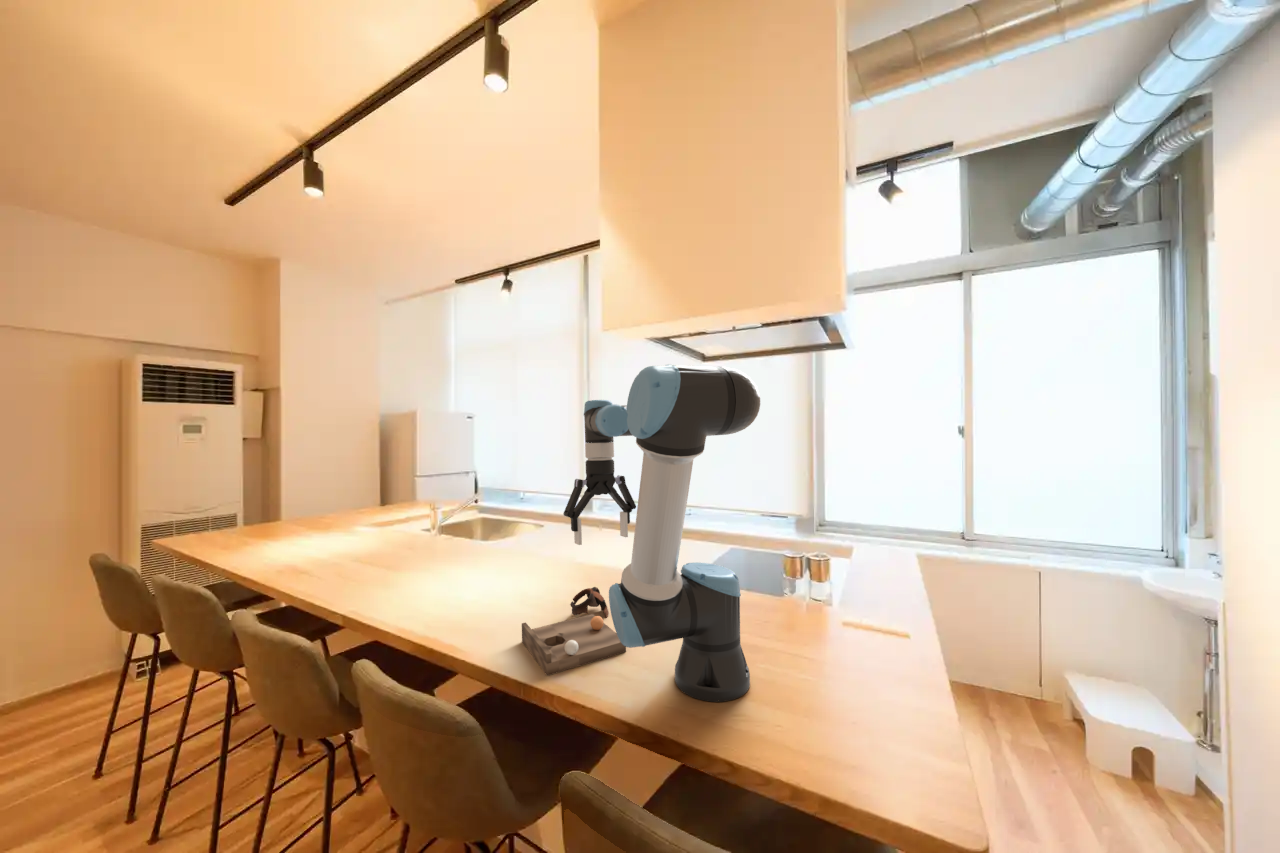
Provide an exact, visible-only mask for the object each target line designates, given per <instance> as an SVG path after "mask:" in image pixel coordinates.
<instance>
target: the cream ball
mask: <svg viewBox="0 0 1280 853" xmlns="http://www.w3.org/2000/svg"><path fill="white" fill-rule="evenodd" d="M577 651H578V643H577V642H576V641H575V640H569V641H568V642H567V643H566V644H565V652H566V653H567V654H569V655H574V654H575V653H576V652H577Z"/></svg>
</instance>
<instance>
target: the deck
mask: <svg viewBox="0 0 1280 853" xmlns="http://www.w3.org/2000/svg"><path fill="white" fill-rule="evenodd" d="M595 616H596V615H595V614H594V613H591V614H586V615H583V616H579V617H576V618H571V619H567V620H563V621H558V622H556V623H551V624H547V625H542V626H539V627H534V628H531V627H530V626H529V625H528V623H527V622H523V623H521V642H522V643H523V646H524V647H525V648H526V649H527V650H528V652H529V653H530V654H531V656H532V657H533V659H534V660H535V662H536V663H537V664H538V666H539V667H540V668H541V669H542V671H543V672H544V673H545V675H546V676H547V677H548V676H550V675H554V674H558V673H561V672H564V671H568V670H571V669H573V668H577V667H580V666H583V665H587V664H590V663H593V662H597V661H599V660H603V659H607V658H610V657H614V656H615V655H619V654H623V653H626V652H627V647H626V646H624V645H623V644H622V643H621V642H620V640H619V638H618V636H617V633H616V631H615V630H613V629H612V628H611V627H610V626H609V625H607V624H606V623H604V624H603V627H602V628H601V629H599V630H594V629H593V628H592V627H591V619H592V618H593V617H595ZM569 640H575V641H576V642H577V643H578V651H577V652H576V653H575V654H574V655H569V654H567V653H566V652H565V644H566V643H567V642H568V641H569Z"/></svg>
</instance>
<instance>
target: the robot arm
mask: <svg viewBox="0 0 1280 853" xmlns="http://www.w3.org/2000/svg"><path fill="white" fill-rule="evenodd" d="M583 407H584V409H583V410H584V411H583V417H584V441H585V442H584V448H585V449H584V451H585V453H584V454H585V458H586V459H587V460H586V459H585V460H586V461H585V476H586V477H585V479H581V478H575V479H574V483H573V484H574V485H573V490H572V492H571V494H570V496H569V499H568V502H567V504H566V506H565V509H564V511H563V516H564V517H567V518H570V530H571V531H572V532H574V537H573V538H574V544H576V545H578V546H582V543H583V542H582V540H583V538H582V537H583V536H582V518H580V516H581V514H582V513H583V511H584V510H585V508H586V507H587V506H588V504H589V502H590V501H591V500H592V499H593V497H594V496H601V495H610V497H611V498H612V500H613V501H615V503H616V504H617V505H618V506H619V508H620V509H621V510H622V511H621V510H620V511H619V527H620V528H619V532H620V534H619V535H620V536H621V537H623V538H628V537H629V531H628V530H629V527H628V526H629V525H628V524H630V523H631V515H630V514H631V513H632V511H633V510H635V509H636V508H637V509H636V515H635V516H636V517H635V526H634V535H633V544H632V552H631V563H629V564H628V565H627V566H626V567H624V569H623V570H622V573H621V580H620V583H618V582H615V583H614V584H612V585H611V586H610V587H609V589H608V602H609V610H610V614H611V619H612V623H613V627H614V631H615V632H616V633H617V636H618V638H619V640H620V642H621V643H622V644H623V645H624V646H626V648H640V647H641V648H644V647H646V646H647V647H648V646H651V645H655V644H660V643H665V642H670V641H674V640H679V639H680V640H681V639H682V643H681V647H680V650H679V654H678V658H677V660H676V663H675V665H674V681H675V684H676V686H677V687H678V688H679V690H680V691H681V692H682V693H683V694H686V695H688V696H689V697H692V698H693V699H696V700H700V701H705V702H706V701H707V702H712V703H713V702H715V703H719V702H728V701H733V700H736V699H739V698H740V697H743V696H744V695H745V694H746V693H747V692H748V691H749V689H750V685H751V676H750V675H751V674H750V669H749V667H748V664H747V660H746V657H745V654H744V650H743V648H742V645H741V644H742V643H741V594H742V593H741V588H740V580H739V577H738V575H737V574H736V573H735V572H734V571H733V570H731V569H730V568H727V567H726V566H725V567H724V566H722V565H718V564H714V563H709V562H688V563H686V564H683V565H681V569H680V573H681V574H680V573H679V571H678V570H677V569H678V564H679V557H680V551H681V544H682V539H683V538H682V537H683V530H684V525H685V517H686V512H687V505H688V496H689V491H690V485H691V477H692V471H693V464H694V459H696V458H697V457H698V456H701V455H702V454H703V453H704V450H705V446H706V440H707V437H710V436H724V435H732V434H736V433H739V432H741V431H743V430H746V429H747V428H748V427H749V426H750V425H752V424H753V422H754V421H755V420H756V419H757V416H758V414H759V413H760V410H761V409H760V408H761V395H760V391H759V389H758V386H757V385H756V383H755V382H754V380H752V379H751V377H750V376H748V374H746V373H744V372H742V371H741V370H739V369H736V368H732V367H727V366H701V365H700V366H699V365H679V364H678V365H676V364H671V363H668V364H664V365H650V366H647V367H644V368H642V369H641V371H639V373H638V374H637V375H636V376H635V377H634V379H633V381H632V383H631V386H630V389H629V393H628V396H627V403H626V405H625V404H624V405H620V404H617V403H616V404H615V403H614V404H613V402H612V401H611V400H609V399H593V400H592V399H591V400H586V401H585V402H584V406H583ZM631 436H632V437H634V438H636V439H635V443H636V445H637V446H638V448H640V450H641V451H642V452H643V455H642V466H641V471H640V472H641V473H640V480H639V481H640V482H639V491H638V499H637V500H638V501H637V505H636V503H635V500H634V498H633V497H632V495H631V492H630V490H629V489H628V486H627V483H626V477H625V476H624V475H619V474H618V475H617V476H615V475H614V474H615V460H614V459H613V458H614V457H615V446H614V445H615V444H614V442H615V441H614V438H617V437H631ZM615 483H616V485H617V487H618V489H619V491H620V493H621V495H622V496H620V494H619V493H618V491H617V490H616V488H615V487H614V485H615ZM585 486H586V487H587V488H586V489H585V491H584V492H583V495H582V497H581V498H580V496H581V494H582V491H583V488H584V487H585ZM579 498H580V500H579Z"/></svg>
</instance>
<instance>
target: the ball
mask: <svg viewBox="0 0 1280 853" xmlns="http://www.w3.org/2000/svg"><path fill="white" fill-rule="evenodd" d="M603 624H605V621H604V619H603V618H602V616H600V615H595V617H593V618H592V619H591V627H592V628H593V629H594V630H599V629H601V628H602V627H603Z"/></svg>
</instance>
